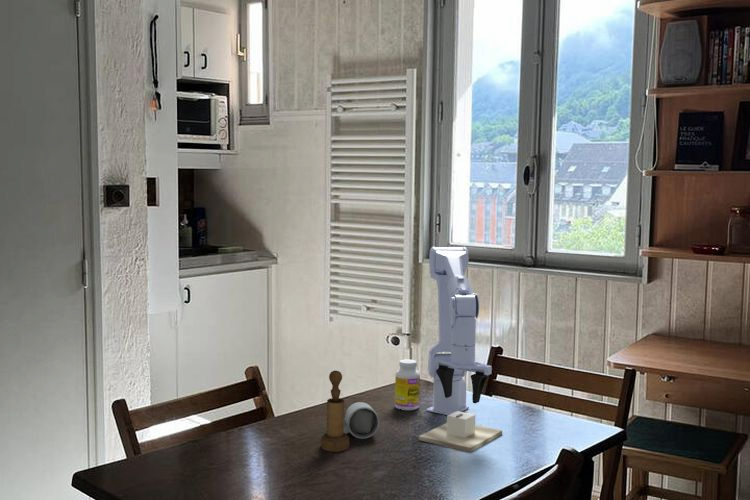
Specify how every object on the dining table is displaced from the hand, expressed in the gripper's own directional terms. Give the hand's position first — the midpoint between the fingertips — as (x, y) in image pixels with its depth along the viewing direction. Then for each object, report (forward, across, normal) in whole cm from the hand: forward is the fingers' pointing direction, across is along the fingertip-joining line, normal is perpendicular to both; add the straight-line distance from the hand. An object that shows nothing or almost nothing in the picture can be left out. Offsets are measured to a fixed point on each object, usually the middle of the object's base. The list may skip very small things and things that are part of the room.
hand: (462, 399), depth 199 cm
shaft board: (+9, 0, 0) cm, 9 cm away
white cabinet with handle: (+8, 0, 0) cm, 8 cm away
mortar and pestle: (+10, -20, -24) cm, 33 cm away
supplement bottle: (+10, -24, +13) cm, 29 cm away
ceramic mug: (+10, -22, -14) cm, 27 cm away
